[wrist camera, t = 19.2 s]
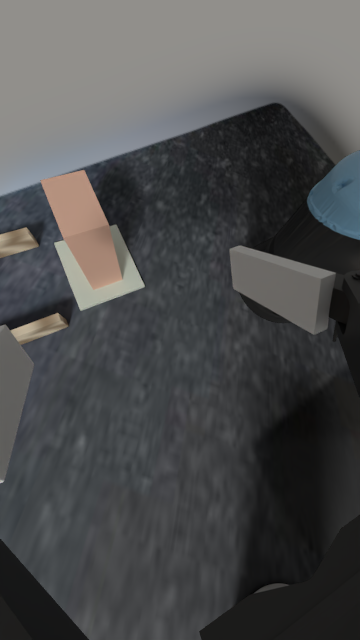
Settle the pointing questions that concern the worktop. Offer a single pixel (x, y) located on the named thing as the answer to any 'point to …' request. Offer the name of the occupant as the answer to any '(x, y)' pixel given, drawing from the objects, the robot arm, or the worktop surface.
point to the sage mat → (94, 297)
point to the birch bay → (21, 242)
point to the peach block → (84, 227)
